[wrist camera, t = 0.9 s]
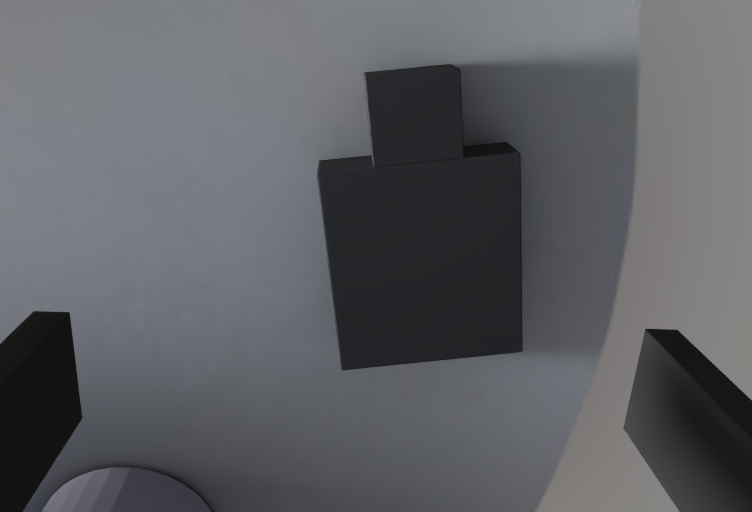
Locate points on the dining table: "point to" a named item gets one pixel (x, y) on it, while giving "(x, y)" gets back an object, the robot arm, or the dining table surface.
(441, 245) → the pad
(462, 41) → the dining table surface
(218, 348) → the dining table surface
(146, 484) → the container
